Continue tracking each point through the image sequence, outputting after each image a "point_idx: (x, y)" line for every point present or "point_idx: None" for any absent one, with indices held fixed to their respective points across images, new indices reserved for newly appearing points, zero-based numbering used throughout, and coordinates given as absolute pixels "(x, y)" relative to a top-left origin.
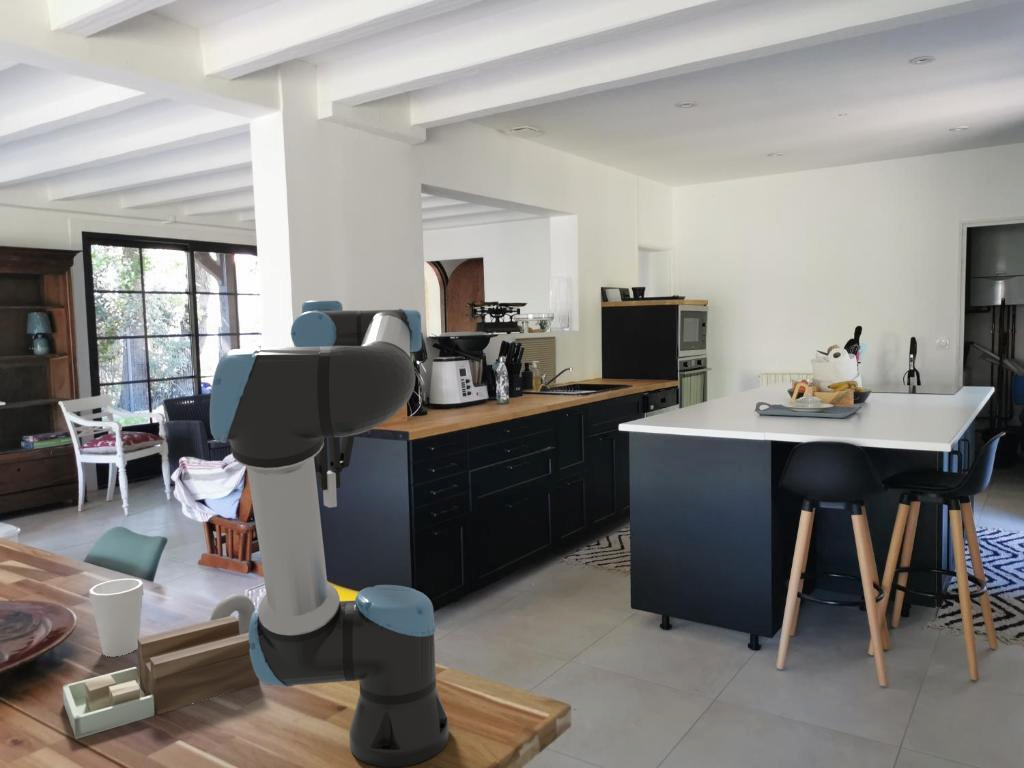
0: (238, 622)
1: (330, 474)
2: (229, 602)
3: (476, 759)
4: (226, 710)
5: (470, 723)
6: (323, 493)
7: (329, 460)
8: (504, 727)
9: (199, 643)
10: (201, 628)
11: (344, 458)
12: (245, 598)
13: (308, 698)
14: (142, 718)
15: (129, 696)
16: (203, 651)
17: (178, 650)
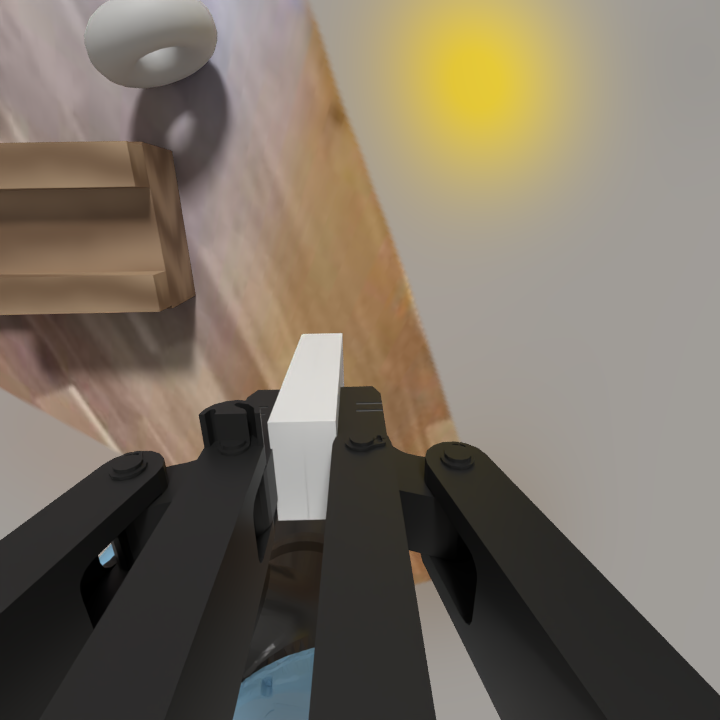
0: (137, 186)
1: (298, 514)
2: (117, 48)
3: None
4: (137, 346)
5: None
6: (294, 357)
7: (329, 487)
8: (419, 560)
9: (64, 190)
10: (49, 181)
11: (445, 605)
12: (166, 30)
13: (252, 382)
14: None
15: None
16: (55, 312)
17: (21, 199)
